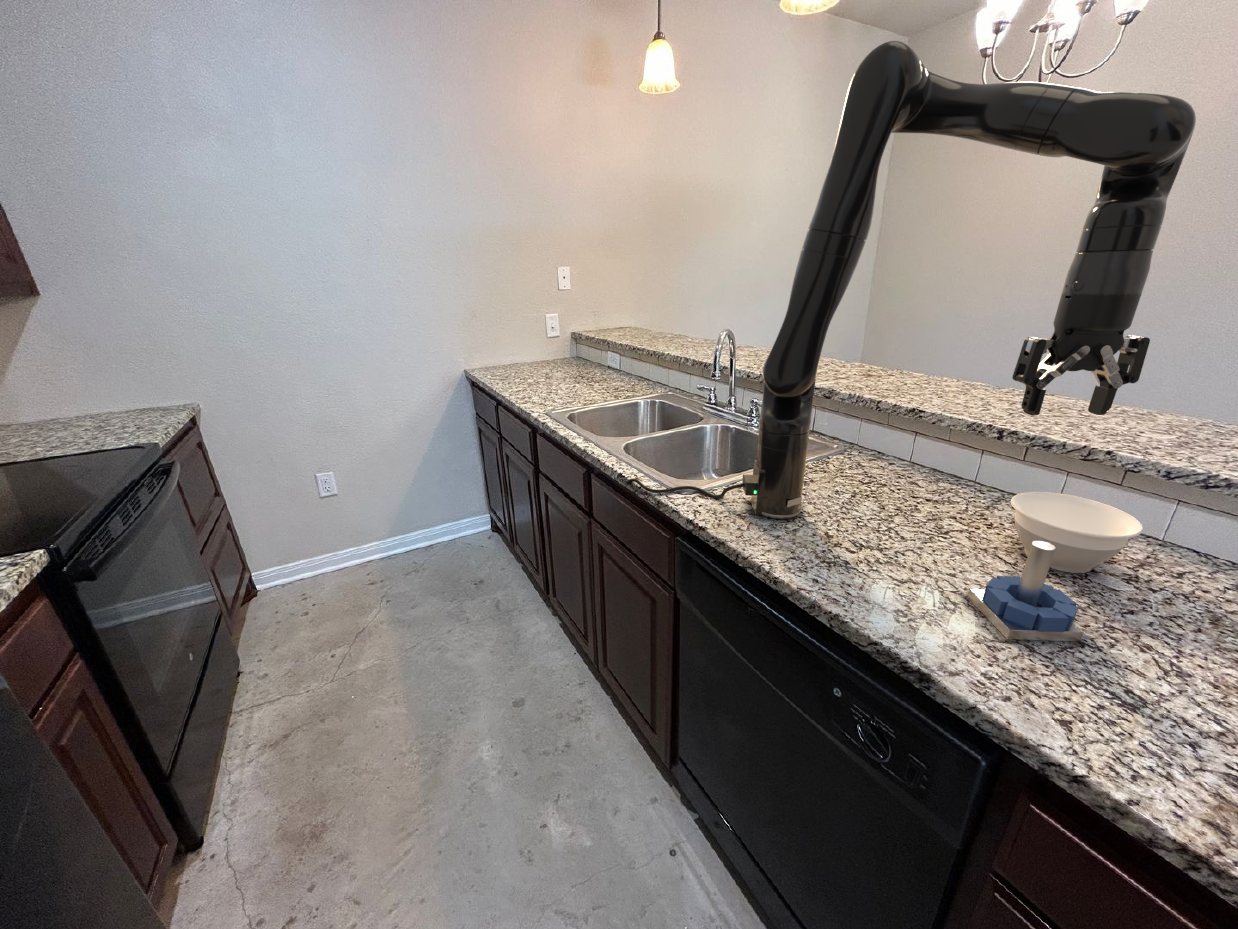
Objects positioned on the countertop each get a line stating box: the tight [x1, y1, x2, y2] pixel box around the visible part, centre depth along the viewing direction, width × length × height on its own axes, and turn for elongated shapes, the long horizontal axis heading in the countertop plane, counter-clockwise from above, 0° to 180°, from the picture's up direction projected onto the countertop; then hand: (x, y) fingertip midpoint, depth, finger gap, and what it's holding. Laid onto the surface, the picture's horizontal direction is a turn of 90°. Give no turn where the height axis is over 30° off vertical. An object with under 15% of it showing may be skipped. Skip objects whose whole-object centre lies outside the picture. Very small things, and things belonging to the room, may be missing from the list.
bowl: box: [1010, 491, 1144, 574], centre depth 81 cm, size 16×16×9 cm
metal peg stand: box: [967, 541, 1085, 642], centre depth 67 cm, size 9×9×12 cm
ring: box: [983, 575, 1079, 632], centre depth 68 cm, size 9×9×2 cm
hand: (1062, 413), depth 69 cm, fingers open, 8 cm apart
